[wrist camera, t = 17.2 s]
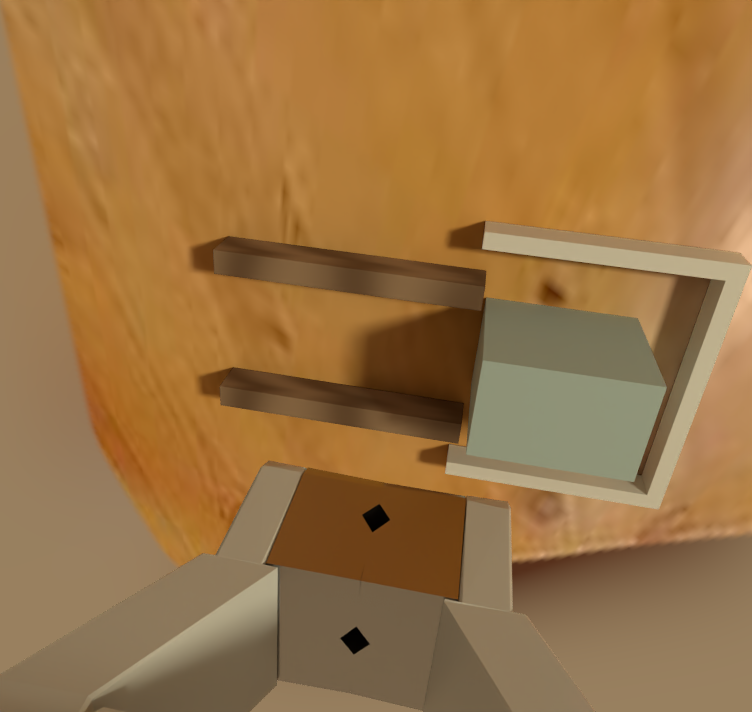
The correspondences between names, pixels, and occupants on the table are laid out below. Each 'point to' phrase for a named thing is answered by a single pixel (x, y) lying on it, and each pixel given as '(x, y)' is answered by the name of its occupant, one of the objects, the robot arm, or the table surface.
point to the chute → (351, 277)
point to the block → (563, 390)
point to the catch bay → (692, 375)
